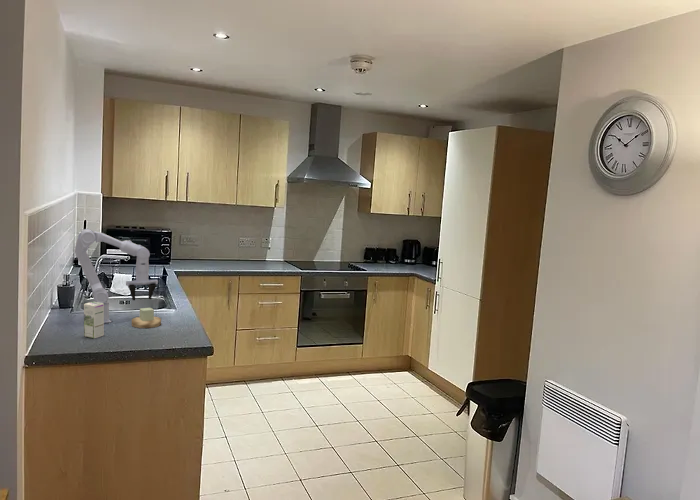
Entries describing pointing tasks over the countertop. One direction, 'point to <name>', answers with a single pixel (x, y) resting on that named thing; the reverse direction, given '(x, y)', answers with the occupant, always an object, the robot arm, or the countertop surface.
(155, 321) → the base
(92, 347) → the countertop surface
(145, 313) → the cube
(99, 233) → the robot arm
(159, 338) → the countertop surface
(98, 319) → the syrup box
